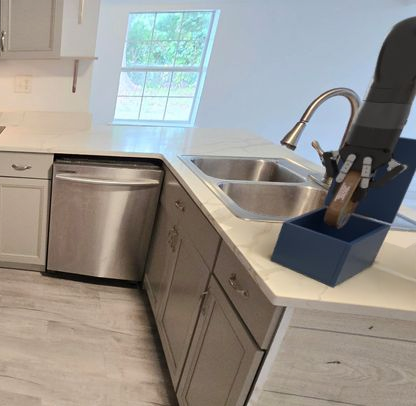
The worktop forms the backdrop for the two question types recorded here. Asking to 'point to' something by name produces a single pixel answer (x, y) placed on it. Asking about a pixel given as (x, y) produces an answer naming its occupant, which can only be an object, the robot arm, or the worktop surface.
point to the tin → (343, 200)
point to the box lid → (386, 185)
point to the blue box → (328, 246)
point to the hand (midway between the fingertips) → (346, 199)
